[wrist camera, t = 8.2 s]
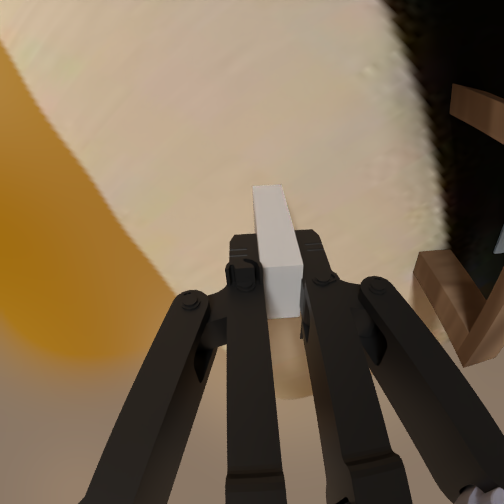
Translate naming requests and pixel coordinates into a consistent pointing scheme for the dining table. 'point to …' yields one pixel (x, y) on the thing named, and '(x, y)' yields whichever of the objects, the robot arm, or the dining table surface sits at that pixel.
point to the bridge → (450, 269)
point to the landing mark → (500, 243)
